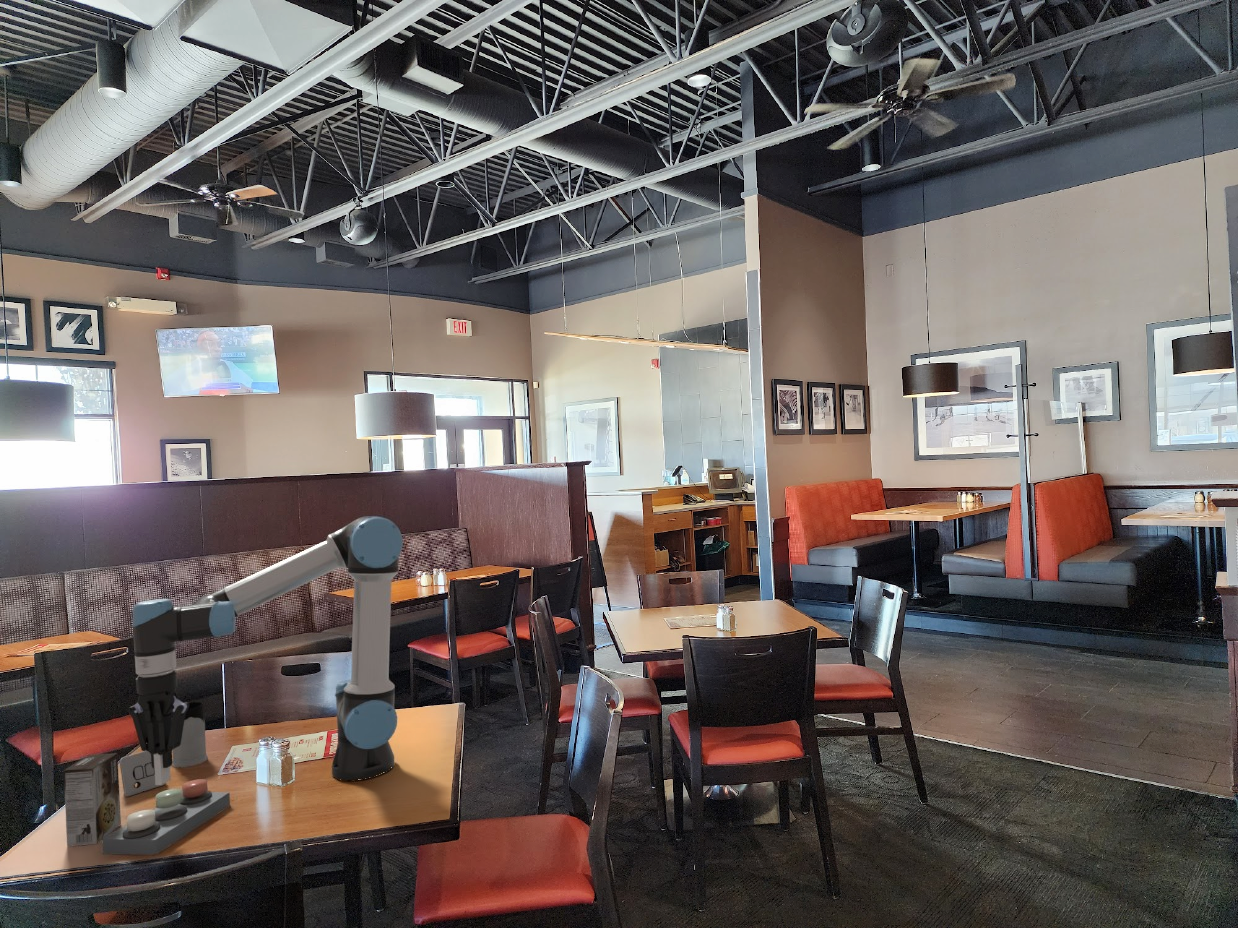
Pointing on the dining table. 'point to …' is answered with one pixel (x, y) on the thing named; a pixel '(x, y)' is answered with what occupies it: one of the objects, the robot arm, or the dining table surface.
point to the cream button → (140, 820)
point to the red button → (194, 788)
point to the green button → (168, 798)
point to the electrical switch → (137, 773)
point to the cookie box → (92, 799)
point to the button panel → (167, 825)
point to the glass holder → (191, 738)
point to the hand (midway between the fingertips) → (163, 782)
